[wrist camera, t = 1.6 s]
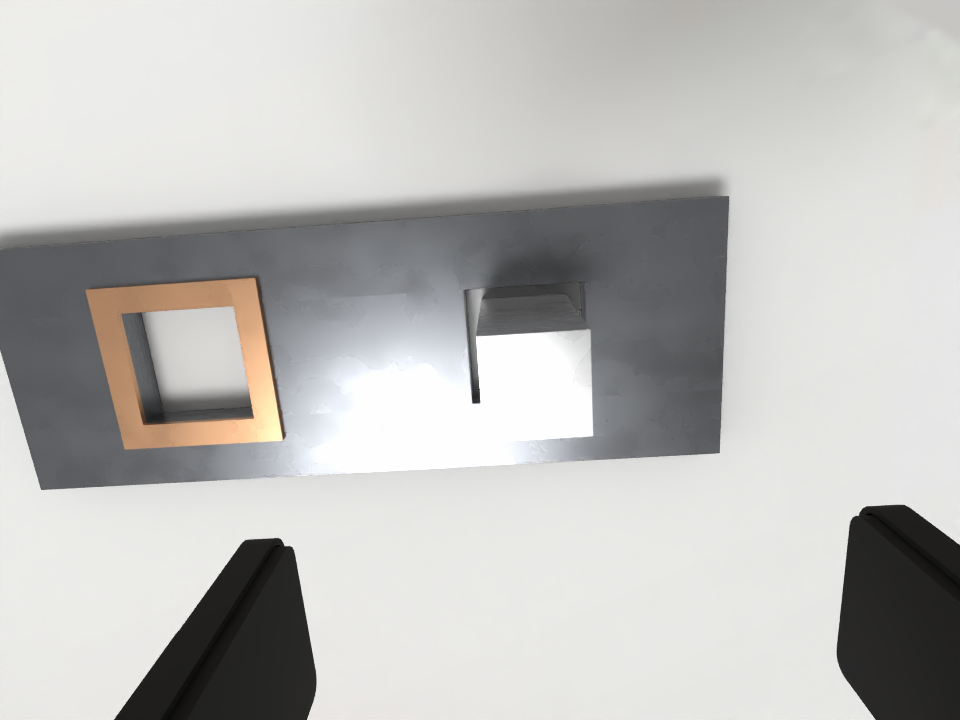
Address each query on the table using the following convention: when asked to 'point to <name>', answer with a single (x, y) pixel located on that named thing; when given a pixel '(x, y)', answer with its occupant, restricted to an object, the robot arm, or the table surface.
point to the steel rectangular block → (534, 369)
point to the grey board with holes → (363, 342)
